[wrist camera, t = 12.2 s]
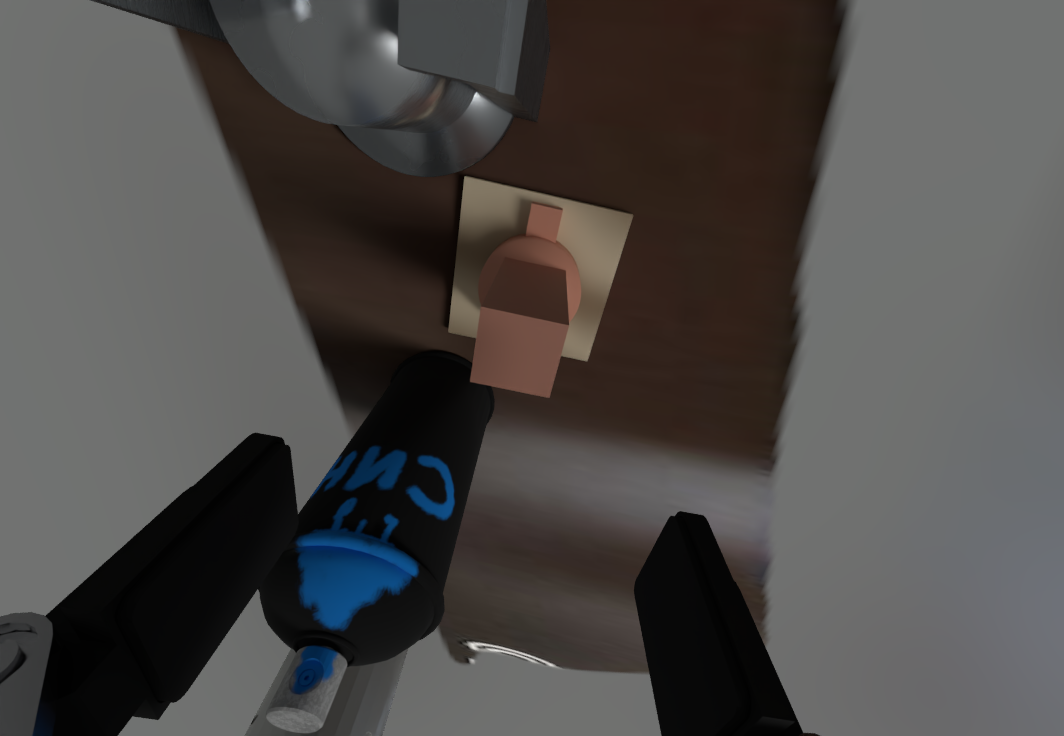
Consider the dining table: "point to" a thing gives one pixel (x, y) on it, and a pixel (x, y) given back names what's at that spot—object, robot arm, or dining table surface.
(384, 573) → the aerosol can
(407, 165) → the column on round base
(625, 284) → the dining table surface
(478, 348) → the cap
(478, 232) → the mat
